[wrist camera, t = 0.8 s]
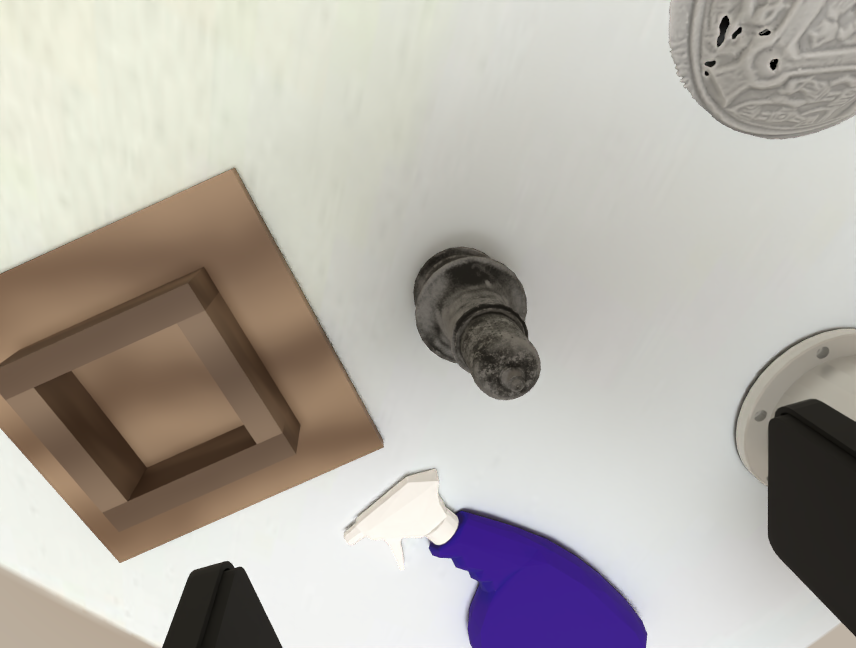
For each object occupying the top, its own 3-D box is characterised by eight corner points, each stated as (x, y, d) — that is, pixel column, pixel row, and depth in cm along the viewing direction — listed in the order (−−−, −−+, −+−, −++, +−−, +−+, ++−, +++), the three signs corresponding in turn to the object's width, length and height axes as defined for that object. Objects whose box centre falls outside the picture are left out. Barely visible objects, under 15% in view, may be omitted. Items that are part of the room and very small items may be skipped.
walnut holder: (382, 440, 34) (386, 477, 30) (124, 553, 34) (99, 603, 31) (234, 167, 27) (217, 174, 24) (-85, 312, 28) (-149, 341, 24)
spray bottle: (666, 642, 41) (451, 455, 33) (556, 723, 42) (325, 564, 34) (647, 609, 43) (444, 429, 35) (544, 687, 45) (327, 531, 37)
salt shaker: (455, 357, 33) (509, 481, 22) (386, 292, 31) (408, 392, 20) (528, 291, 32) (624, 385, 21) (463, 219, 30) (531, 280, 19)
